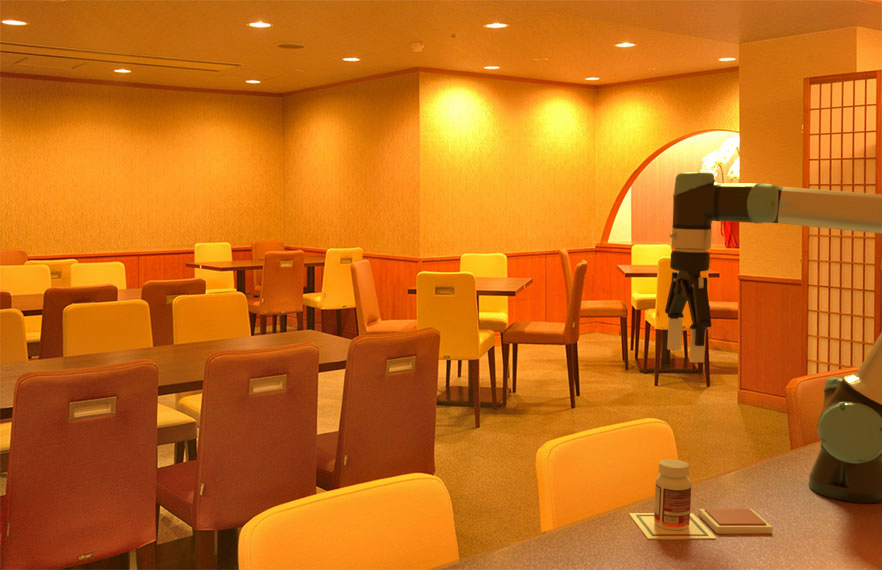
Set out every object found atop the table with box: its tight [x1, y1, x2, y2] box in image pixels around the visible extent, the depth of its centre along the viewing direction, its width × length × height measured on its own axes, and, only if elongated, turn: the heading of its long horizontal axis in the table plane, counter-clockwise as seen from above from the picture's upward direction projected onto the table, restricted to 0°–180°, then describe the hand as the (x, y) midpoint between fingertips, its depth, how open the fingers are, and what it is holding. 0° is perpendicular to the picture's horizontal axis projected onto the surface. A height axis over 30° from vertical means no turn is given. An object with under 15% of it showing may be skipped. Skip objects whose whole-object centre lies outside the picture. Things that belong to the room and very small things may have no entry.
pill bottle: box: [653, 458, 692, 530], centre depth 160 cm, size 6×6×11 cm
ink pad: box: [698, 508, 773, 535], centre depth 163 cm, size 10×9×2 cm
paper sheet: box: [628, 512, 717, 540], centre depth 161 cm, size 12×12×1 cm
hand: (684, 355), depth 182 cm, fingers open, 13 cm apart
